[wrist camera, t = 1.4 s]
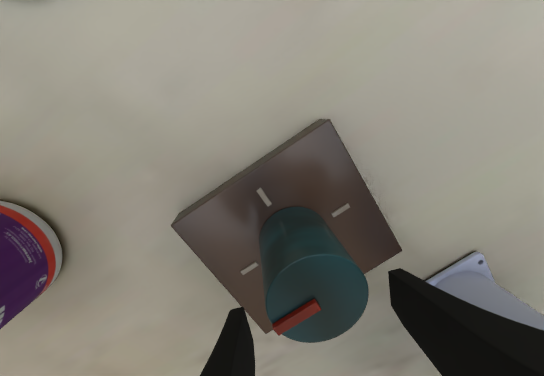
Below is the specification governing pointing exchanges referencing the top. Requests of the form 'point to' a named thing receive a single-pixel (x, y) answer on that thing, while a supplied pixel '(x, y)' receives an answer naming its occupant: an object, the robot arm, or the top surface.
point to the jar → (309, 277)
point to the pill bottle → (25, 259)
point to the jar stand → (279, 195)
